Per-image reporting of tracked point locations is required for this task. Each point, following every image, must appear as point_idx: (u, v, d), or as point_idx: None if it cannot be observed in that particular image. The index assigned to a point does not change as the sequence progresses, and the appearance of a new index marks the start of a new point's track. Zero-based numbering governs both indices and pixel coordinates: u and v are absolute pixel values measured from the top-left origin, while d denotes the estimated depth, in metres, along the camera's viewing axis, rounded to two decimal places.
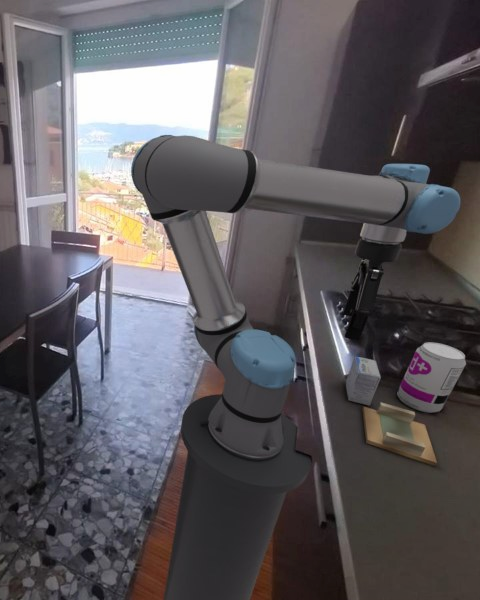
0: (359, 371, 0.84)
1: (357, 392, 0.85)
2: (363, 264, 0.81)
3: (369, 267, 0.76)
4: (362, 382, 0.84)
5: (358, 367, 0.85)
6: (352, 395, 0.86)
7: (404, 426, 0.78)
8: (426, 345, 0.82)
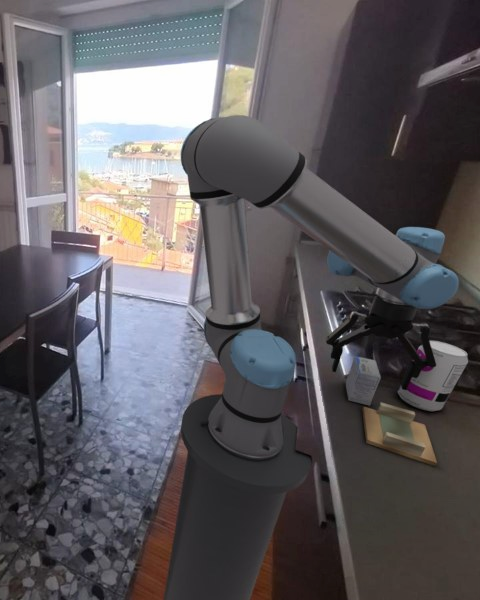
0: (359, 371, 0.84)
1: (357, 392, 0.85)
2: None
3: None
4: (362, 382, 0.84)
5: (358, 367, 0.85)
6: (352, 395, 0.86)
7: (404, 426, 0.78)
8: None
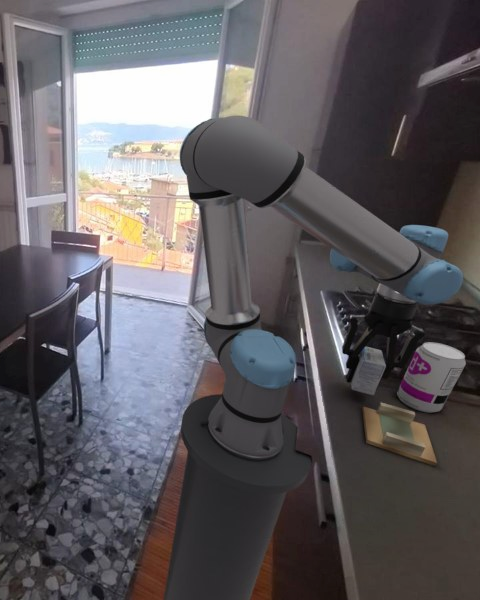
0: (364, 359, 0.82)
1: (361, 381, 0.84)
2: None
3: None
4: (366, 371, 0.82)
5: (363, 356, 0.84)
6: (355, 384, 0.85)
7: (404, 426, 0.78)
8: (426, 345, 0.83)
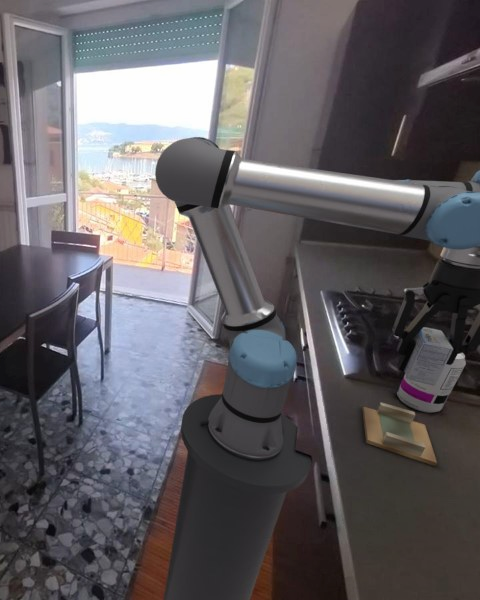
0: (424, 342, 0.67)
1: (420, 368, 0.68)
2: None
3: None
4: (427, 356, 0.67)
5: (421, 337, 0.69)
6: (412, 372, 0.69)
7: (404, 426, 0.78)
8: None
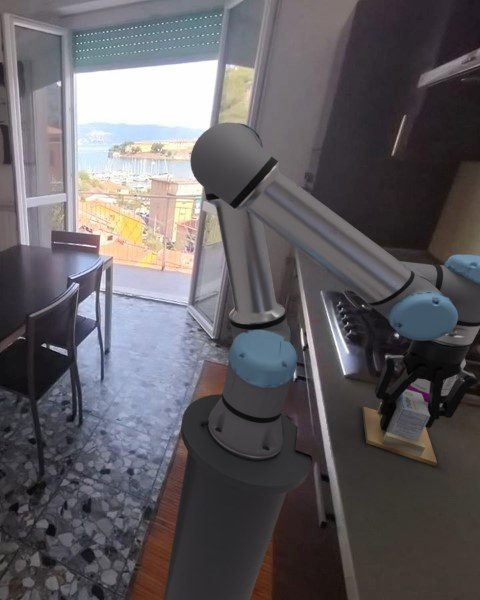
0: (403, 407, 0.71)
1: (400, 431, 0.73)
2: None
3: None
4: (406, 420, 0.71)
5: (401, 401, 0.73)
6: None
7: None
8: None
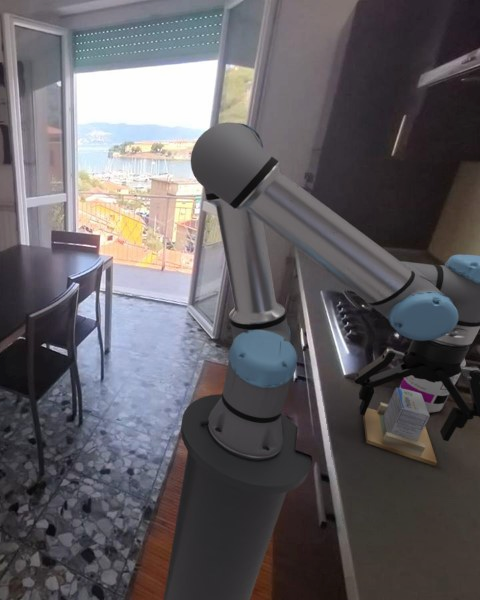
0: (403, 407, 0.71)
1: (399, 431, 0.73)
2: None
3: None
4: (406, 420, 0.71)
5: (401, 401, 0.73)
6: None
7: None
8: None
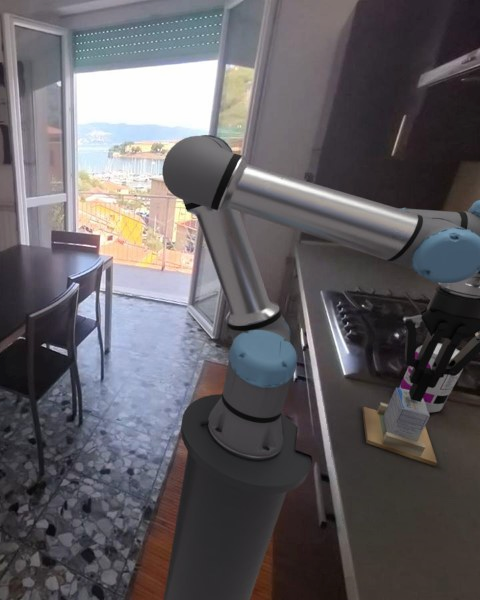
0: (403, 407, 0.71)
1: (399, 431, 0.73)
2: None
3: None
4: (406, 420, 0.71)
5: (401, 401, 0.73)
6: None
7: None
8: None
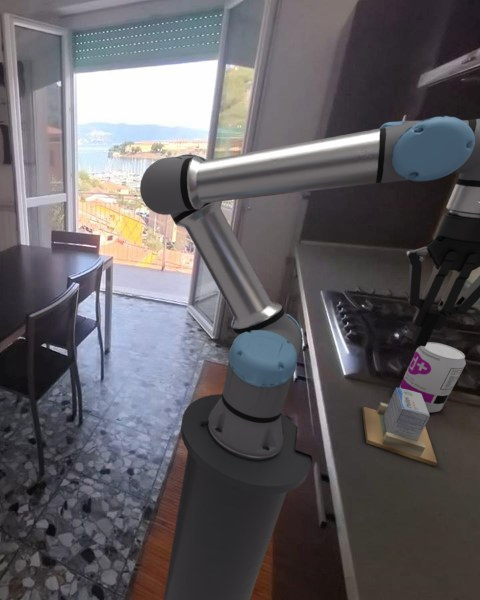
0: (403, 407, 0.71)
1: (399, 431, 0.73)
2: None
3: None
4: (406, 420, 0.71)
5: (401, 401, 0.73)
6: None
7: None
8: (426, 345, 0.83)
